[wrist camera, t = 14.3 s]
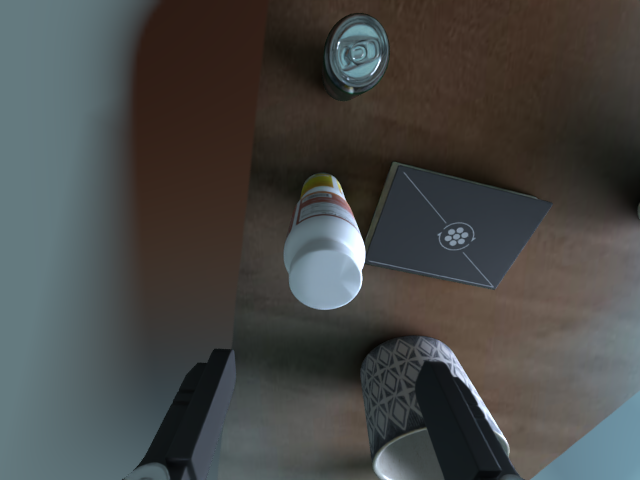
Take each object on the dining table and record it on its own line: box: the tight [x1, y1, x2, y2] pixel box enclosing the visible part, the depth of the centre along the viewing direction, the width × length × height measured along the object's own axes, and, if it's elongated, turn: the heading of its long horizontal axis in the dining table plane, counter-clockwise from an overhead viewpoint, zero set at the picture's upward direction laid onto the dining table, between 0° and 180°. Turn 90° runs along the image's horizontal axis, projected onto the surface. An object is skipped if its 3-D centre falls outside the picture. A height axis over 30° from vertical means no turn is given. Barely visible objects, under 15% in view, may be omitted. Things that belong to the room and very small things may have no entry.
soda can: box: [322, 13, 390, 101], centre depth 23 cm, size 5×5×12 cm
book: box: [364, 161, 553, 290], centre depth 36 cm, size 22×15×3 cm
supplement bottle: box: [300, 173, 346, 201], centre depth 30 cm, size 6×6×10 cm
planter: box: [360, 335, 509, 480], centre depth 43 cm, size 19×19×16 cm
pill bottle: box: [284, 191, 365, 310], centre depth 21 cm, size 6×6×11 cm
